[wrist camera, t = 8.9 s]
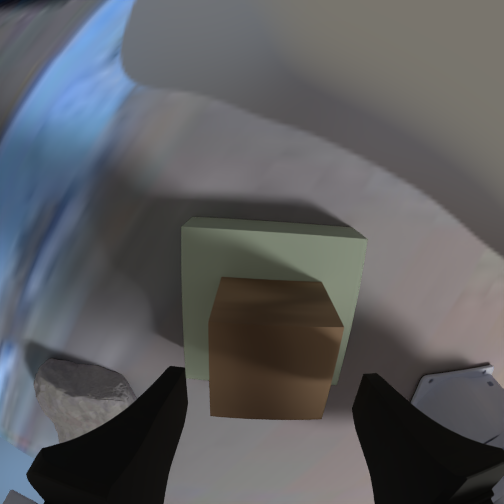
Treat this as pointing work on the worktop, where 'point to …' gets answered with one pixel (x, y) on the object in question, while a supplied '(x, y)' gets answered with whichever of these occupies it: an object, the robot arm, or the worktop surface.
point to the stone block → (80, 396)
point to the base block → (263, 270)
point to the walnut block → (272, 349)
